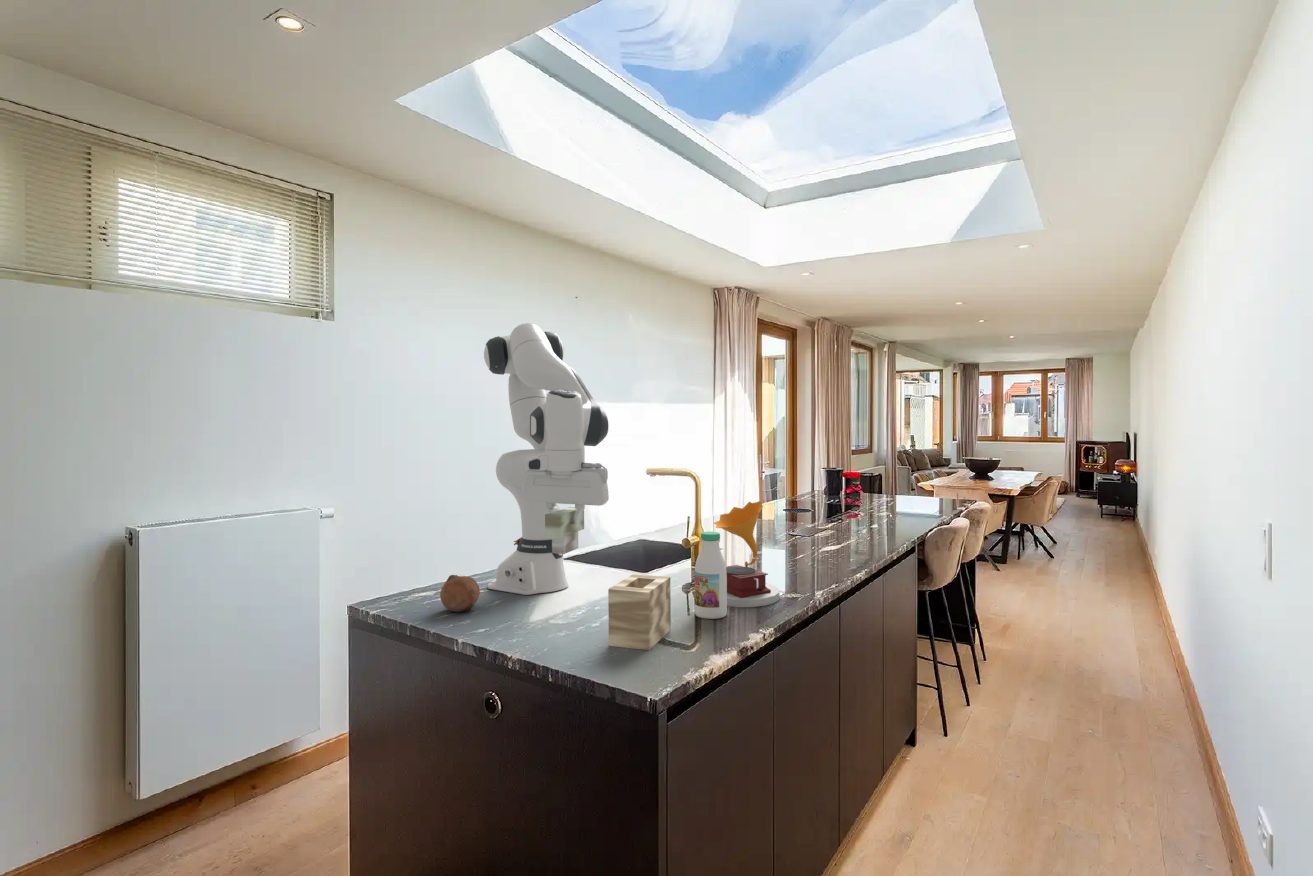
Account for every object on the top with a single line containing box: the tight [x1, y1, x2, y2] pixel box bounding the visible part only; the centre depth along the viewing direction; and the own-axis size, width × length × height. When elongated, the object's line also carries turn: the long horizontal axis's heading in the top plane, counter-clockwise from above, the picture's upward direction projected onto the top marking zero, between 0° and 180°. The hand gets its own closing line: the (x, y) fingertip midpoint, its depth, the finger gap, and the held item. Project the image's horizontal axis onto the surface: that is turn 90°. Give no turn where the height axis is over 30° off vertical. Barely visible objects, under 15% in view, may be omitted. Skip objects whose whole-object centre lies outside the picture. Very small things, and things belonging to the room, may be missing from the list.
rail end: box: [545, 506, 585, 555], centre depth 155 cm, size 12×4×9 cm, turn 160°
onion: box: [439, 574, 481, 613], centre depth 171 cm, size 10×9×10 cm
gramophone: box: [713, 501, 780, 608], centre depth 182 cm, size 20×20×25 cm
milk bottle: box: [694, 531, 728, 620], centre depth 165 cm, size 8×8×20 cm
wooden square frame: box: [607, 573, 672, 651], centre depth 149 cm, size 14×9×12 cm, turn 160°
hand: (565, 523), depth 154 cm, fingers closed on rail end, 4 cm apart
